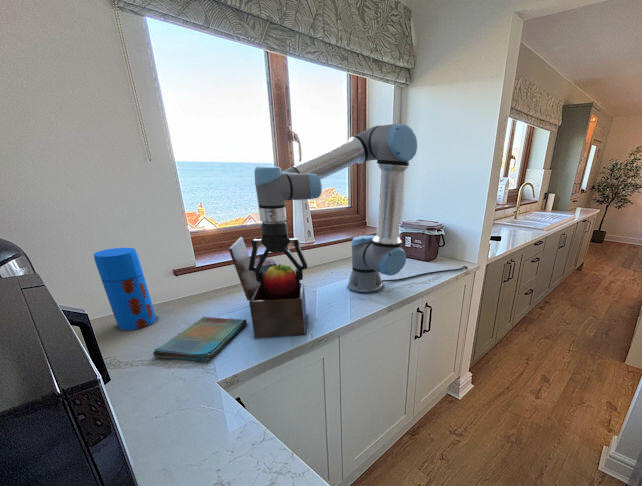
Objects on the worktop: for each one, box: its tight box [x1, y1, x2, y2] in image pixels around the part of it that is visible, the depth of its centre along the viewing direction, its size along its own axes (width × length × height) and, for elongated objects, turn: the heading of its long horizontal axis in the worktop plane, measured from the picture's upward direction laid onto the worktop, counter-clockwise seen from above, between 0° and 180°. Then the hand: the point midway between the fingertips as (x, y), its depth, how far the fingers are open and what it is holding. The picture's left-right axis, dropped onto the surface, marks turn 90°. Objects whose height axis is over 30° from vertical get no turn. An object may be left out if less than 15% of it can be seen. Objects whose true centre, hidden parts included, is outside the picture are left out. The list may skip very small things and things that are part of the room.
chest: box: [248, 282, 307, 339], centre depth 109 cm, size 16×15×13 cm
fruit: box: [263, 263, 297, 297], centre depth 105 cm, size 11×11×10 cm
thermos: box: [93, 247, 157, 331], centre depth 106 cm, size 11×11×25 cm
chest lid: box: [228, 236, 258, 301], centre depth 101 cm, size 16×15×1 cm
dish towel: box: [152, 316, 248, 363], centre depth 102 cm, size 17×23×2 cm
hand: (281, 289), depth 106 cm, fingers closed on fruit, 10 cm apart
